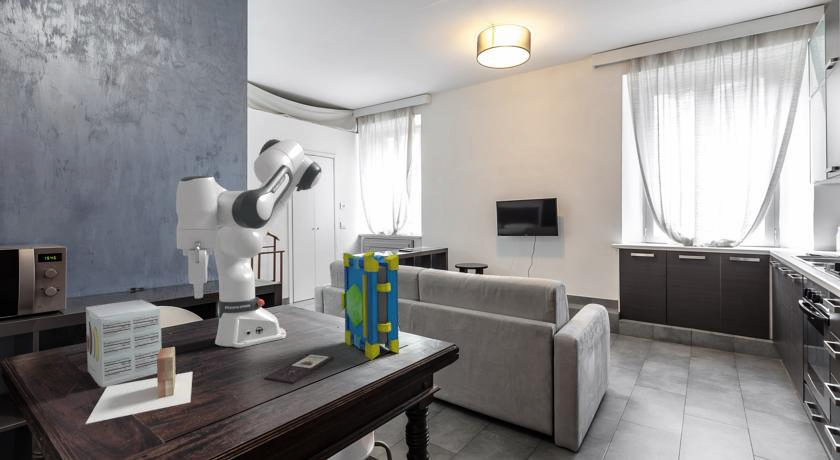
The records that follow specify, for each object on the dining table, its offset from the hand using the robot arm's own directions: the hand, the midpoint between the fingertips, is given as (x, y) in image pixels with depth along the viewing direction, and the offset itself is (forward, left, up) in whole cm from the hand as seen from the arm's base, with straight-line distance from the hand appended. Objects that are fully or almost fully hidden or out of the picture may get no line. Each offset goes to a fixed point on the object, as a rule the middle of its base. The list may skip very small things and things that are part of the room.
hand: (198, 297), depth 95 cm
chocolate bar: (-24, +1, -23) cm, 33 cm away
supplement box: (+18, -20, -22) cm, 35 cm away
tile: (+7, 0, -22) cm, 23 cm away
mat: (+11, 0, -22) cm, 25 cm away
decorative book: (-47, -5, -22) cm, 52 cm away
